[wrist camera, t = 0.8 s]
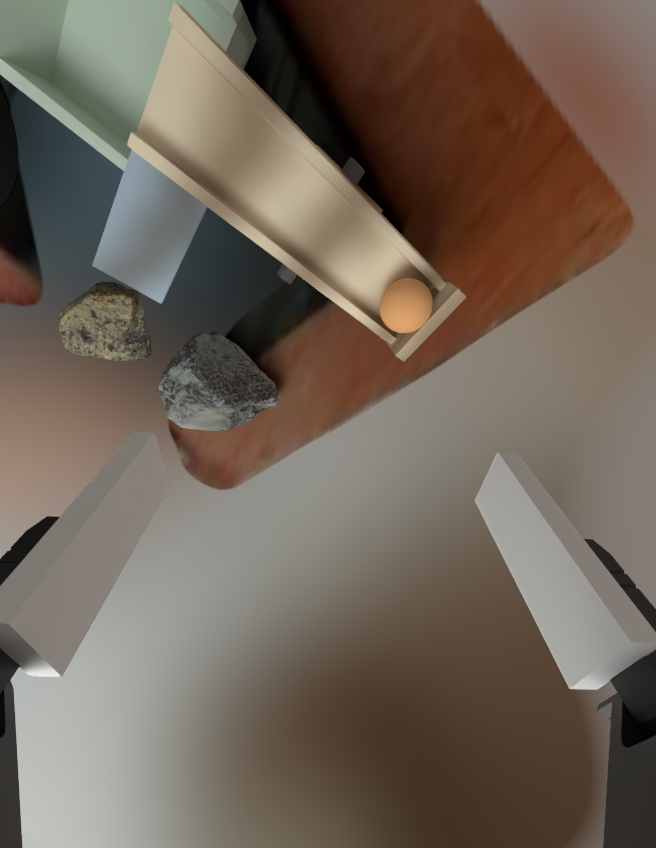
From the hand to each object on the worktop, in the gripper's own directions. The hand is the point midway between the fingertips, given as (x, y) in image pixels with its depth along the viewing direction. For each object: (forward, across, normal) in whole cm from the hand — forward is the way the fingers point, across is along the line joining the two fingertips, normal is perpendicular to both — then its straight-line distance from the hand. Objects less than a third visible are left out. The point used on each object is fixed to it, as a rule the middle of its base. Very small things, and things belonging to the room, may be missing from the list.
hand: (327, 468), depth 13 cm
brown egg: (+14, +5, +3) cm, 15 cm away
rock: (+25, -22, -3) cm, 33 cm away
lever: (+16, -3, +5) cm, 17 cm away
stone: (+24, -11, -8) cm, 28 cm away
